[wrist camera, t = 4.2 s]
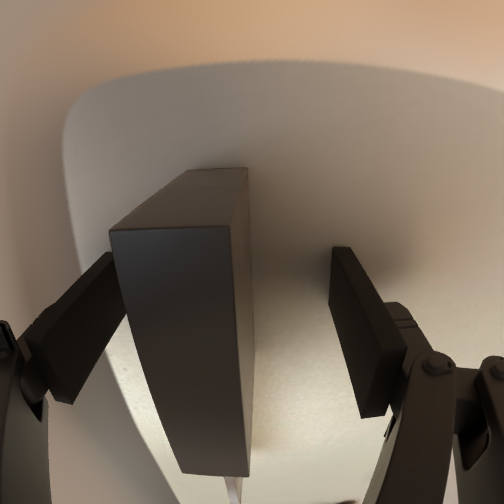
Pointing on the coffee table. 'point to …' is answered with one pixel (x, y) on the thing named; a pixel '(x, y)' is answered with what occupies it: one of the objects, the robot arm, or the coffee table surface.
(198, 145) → the coffee table surface
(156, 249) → the knife
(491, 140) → the coffee table surface
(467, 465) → the robot arm
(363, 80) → the coffee table surface
